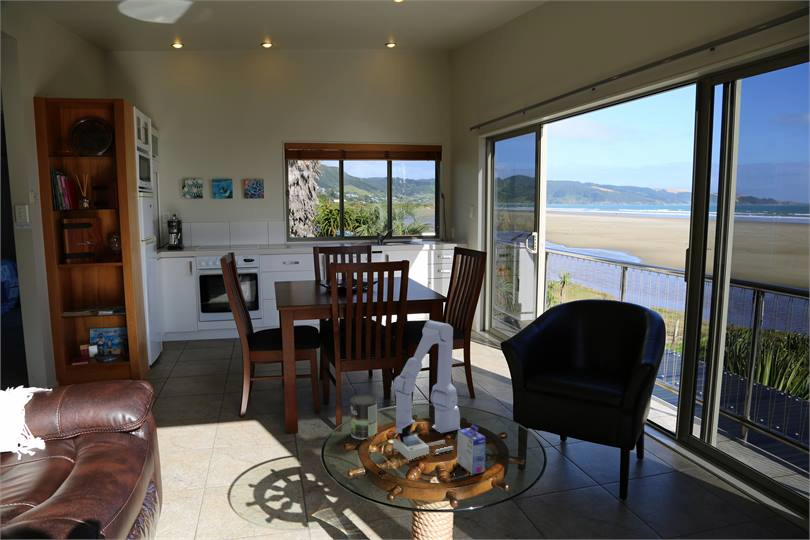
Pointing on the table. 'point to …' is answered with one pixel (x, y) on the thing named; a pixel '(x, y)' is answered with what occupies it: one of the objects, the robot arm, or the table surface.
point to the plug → (410, 440)
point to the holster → (440, 448)
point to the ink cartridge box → (471, 450)
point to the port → (411, 448)
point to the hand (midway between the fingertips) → (404, 443)
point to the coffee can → (363, 416)
